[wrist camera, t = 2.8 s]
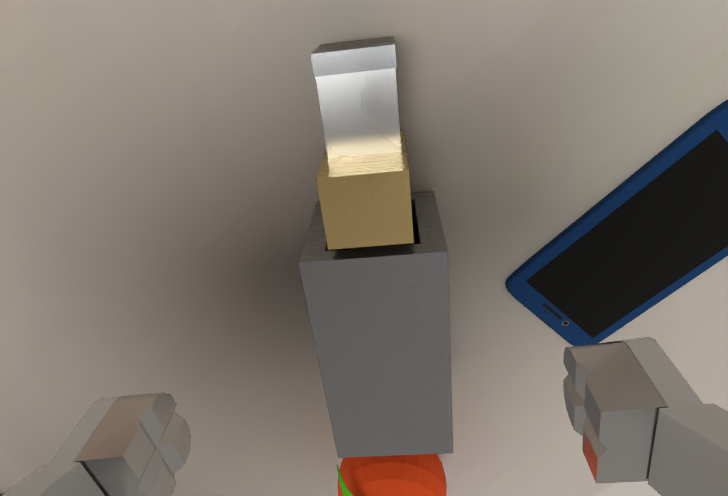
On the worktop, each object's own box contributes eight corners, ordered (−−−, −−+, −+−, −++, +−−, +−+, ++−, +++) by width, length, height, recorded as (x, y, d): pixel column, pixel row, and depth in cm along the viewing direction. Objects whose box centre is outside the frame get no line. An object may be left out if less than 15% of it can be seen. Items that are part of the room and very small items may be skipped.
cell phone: (807, 188, 24) (820, 194, 23) (577, 346, 29) (582, 355, 28) (730, 89, 21) (741, 92, 21) (497, 280, 27) (500, 287, 26)
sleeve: (440, 368, 30) (453, 453, 24) (346, 373, 30) (338, 457, 25) (433, 191, 24) (447, 251, 19) (317, 201, 25) (298, 263, 19)
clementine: (310, 431, 33) (293, 534, 27) (376, 379, 30) (374, 480, 24) (392, 482, 36) (394, 587, 29) (461, 437, 33) (479, 543, 27)
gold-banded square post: (420, 373, 29) (427, 447, 24) (365, 376, 29) (361, 450, 25) (397, 35, 20) (401, 51, 15) (317, 45, 20) (296, 63, 15)
